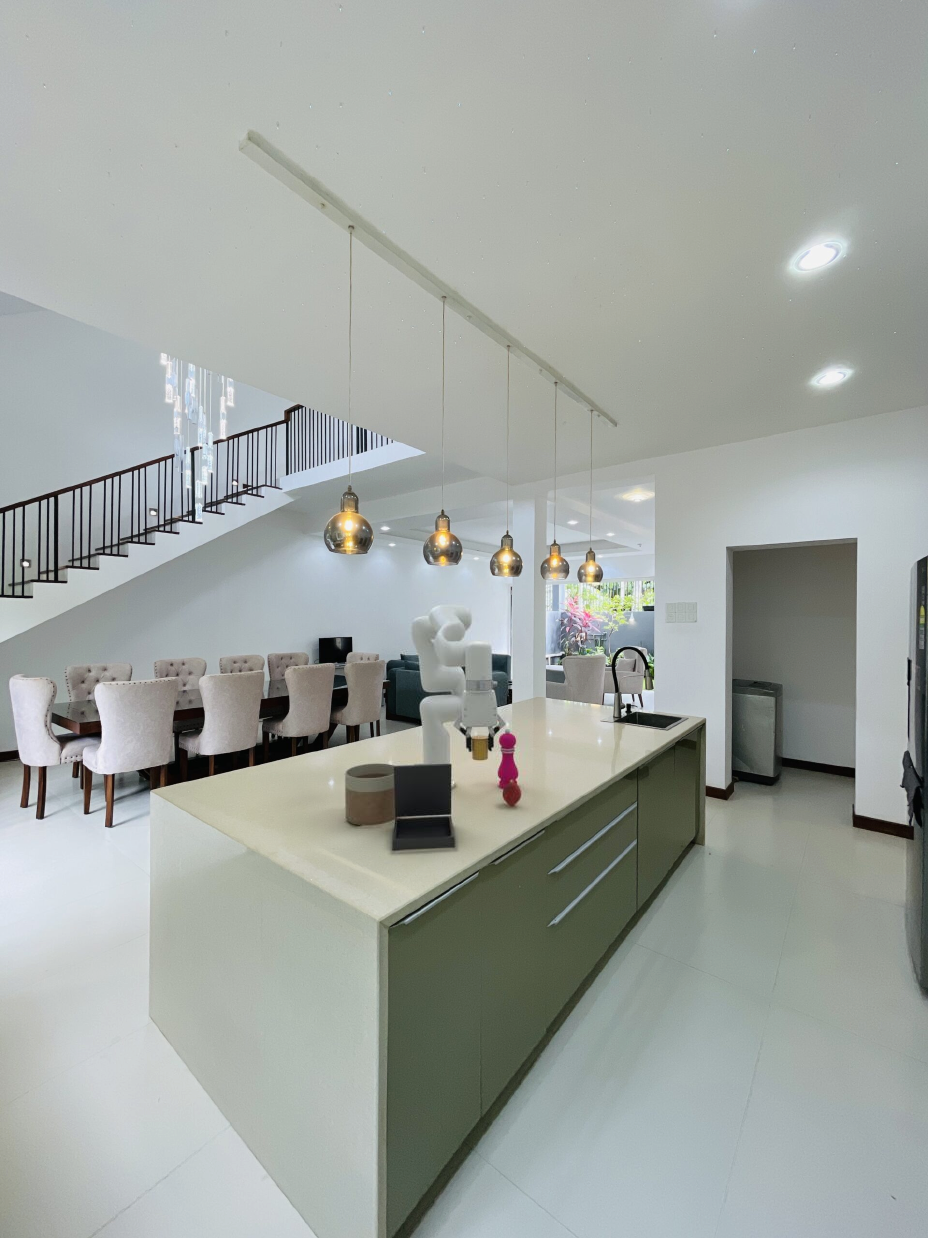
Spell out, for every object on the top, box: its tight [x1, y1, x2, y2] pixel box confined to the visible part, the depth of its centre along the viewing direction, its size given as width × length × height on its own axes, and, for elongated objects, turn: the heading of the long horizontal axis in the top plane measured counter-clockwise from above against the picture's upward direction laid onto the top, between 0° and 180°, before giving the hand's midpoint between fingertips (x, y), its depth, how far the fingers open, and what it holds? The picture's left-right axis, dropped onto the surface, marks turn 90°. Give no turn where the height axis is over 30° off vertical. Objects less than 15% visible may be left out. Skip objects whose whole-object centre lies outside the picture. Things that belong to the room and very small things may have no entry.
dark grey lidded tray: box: [391, 815, 456, 851], centre depth 136 cm, size 15×16×3 cm
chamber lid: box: [394, 763, 453, 818], centre depth 143 cm, size 16×16×5 cm
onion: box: [501, 780, 522, 807], centre depth 160 cm, size 6×6×8 cm
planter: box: [344, 762, 398, 826], centre depth 152 cm, size 16×16×14 cm
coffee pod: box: [471, 734, 489, 761], centre depth 145 cm, size 5×5×6 cm
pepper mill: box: [497, 728, 519, 789], centre depth 179 cm, size 7×7×20 cm
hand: (479, 749), depth 145 cm, fingers closed on coffee pod, 5 cm apart
